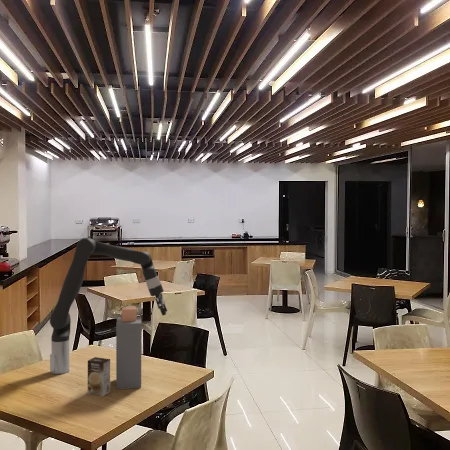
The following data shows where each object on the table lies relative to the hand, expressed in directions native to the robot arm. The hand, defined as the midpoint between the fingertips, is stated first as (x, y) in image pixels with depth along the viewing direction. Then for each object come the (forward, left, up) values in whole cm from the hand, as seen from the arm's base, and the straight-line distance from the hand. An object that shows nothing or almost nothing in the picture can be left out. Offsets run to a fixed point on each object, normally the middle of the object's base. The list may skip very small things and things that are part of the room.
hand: (164, 313), depth 263 cm
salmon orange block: (-22, +1, +1) cm, 22 cm away
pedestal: (-25, -5, -31) cm, 41 cm away
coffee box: (-43, -7, -32) cm, 54 cm away
